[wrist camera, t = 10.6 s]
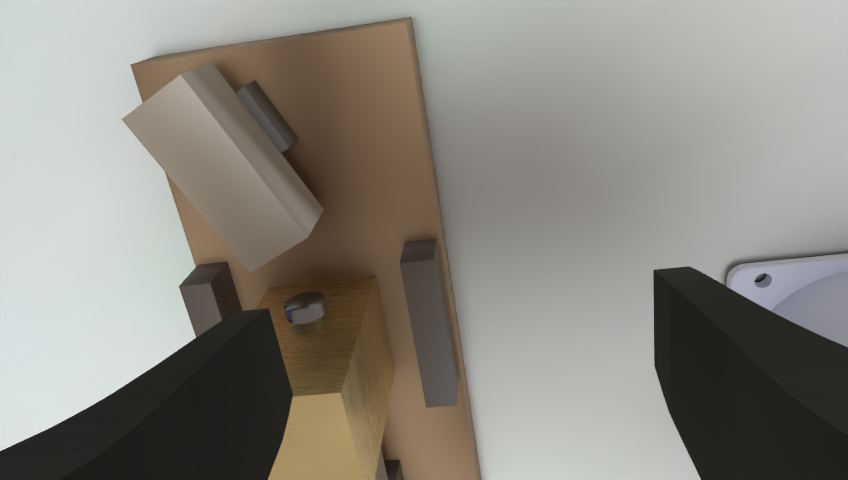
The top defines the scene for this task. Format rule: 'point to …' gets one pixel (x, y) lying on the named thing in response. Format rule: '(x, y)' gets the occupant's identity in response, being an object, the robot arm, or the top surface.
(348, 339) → the wooden block with knob
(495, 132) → the top surface
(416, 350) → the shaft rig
